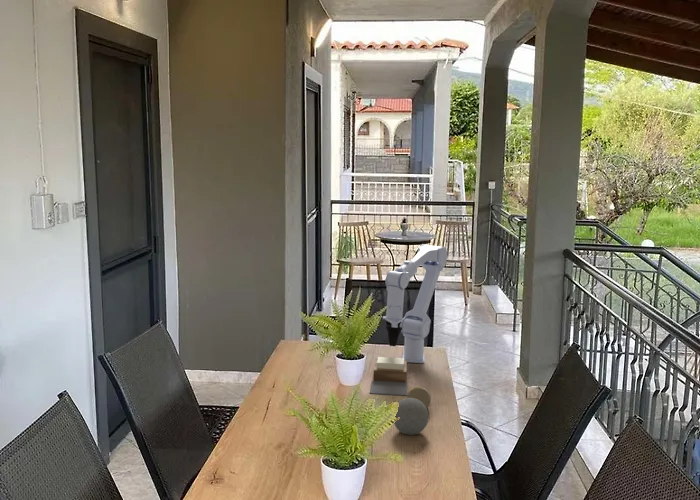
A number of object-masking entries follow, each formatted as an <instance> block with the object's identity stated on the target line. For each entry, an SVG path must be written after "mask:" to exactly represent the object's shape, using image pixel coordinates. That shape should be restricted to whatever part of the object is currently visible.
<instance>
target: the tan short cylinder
mask: <svg viewBox="0 0 700 500" xmlns="http://www.w3.org/2000/svg"><path fill="white" fill-rule="evenodd" d="M406 398H415V399H418V400H420V401H421V402H422V403H423V404H424V405H425V406H426V408H429V406H430V405H431V401H432V396H431V394H430V391H428V389H426V388H425V387H421V386H416V387H412V389H410V390H409V392H407V396H406Z"/></svg>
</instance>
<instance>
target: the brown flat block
mask: <svg viewBox="0 0 700 500" xmlns="http://www.w3.org/2000/svg"><path fill="white" fill-rule="evenodd" d="M377 361H378V358H375V361H374V367H373V379H372V381H388V382H405V383H407V371H408V370H407V365H408V364H407V363H408V362H407V360H404V370H398V369H380V368H377Z"/></svg>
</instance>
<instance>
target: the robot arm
mask: <svg viewBox="0 0 700 500" xmlns="http://www.w3.org/2000/svg"><path fill="white" fill-rule="evenodd" d="M447 260H448V251H447V248H446V247H445V246H440V245H431V244H425V243H422V244H421V245H419V246H418V248H417V253H416V254H415V255H414V256H413V258H411V260H405V261H404V262H403V263H402V264H401V265H399V266H398V267H397V268H396V269H394V270H390V271H388V273H387V274H386V275H385V279H384V281H385V286H386V292H387V299H386V310H385V311H386V313H385V316H384V315H383V316H382V320H384V321H385V324H386V325H385V328H386V330H387V331H386V332H387V336H388V337H387V338H388V345H389V347H396V346H397V343H398V339H399V336H400V334H402V336H404V342H403V344H404V345H403V346H404V347H403V348H404V349H403V353H402V358H404V360H407V363H417V364H425V349H424V348H425V338H426V337H427V336H428V335H429V333H430V329H431V323H432V321H431V319H430V317H429V315H428V314H427V312H428V309H429V306H430V303H431V301H432V297H433V295H434V291H435V289H436V286H437V283H438V279H439V277H440V275H441V274H440V273H441V272H442V271H444V270H445V269H444V268H445V265H446V263H447ZM419 267H422V268H423V269H424V270H425V274H424V276H423V279H422V282H421V285H420V288H419V291H418V294H417V297H416V299H415V302H414V305H413V309H411V310H409V311H407V312H406V313H405V315H404V317H403V314H404V301H405V300H404V299H405V298H404V297H405V289H406V288H407V287H408V285H409V283H410V281H411V279H412V278H413V277H414V276H415V275H416V274H417V272H418V268H419Z"/></svg>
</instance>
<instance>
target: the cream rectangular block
mask: <svg viewBox="0 0 700 500" xmlns="http://www.w3.org/2000/svg"><path fill="white" fill-rule="evenodd" d="M377 359H378V361H377V368H380V369H398V370H404V358H403V357H387V356H385V357H383V356H378V357H377Z"/></svg>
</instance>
